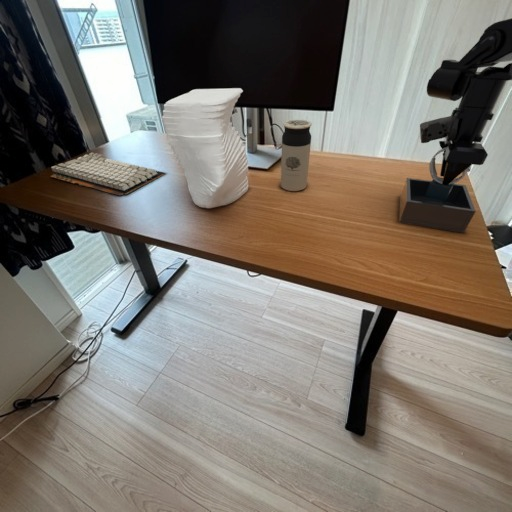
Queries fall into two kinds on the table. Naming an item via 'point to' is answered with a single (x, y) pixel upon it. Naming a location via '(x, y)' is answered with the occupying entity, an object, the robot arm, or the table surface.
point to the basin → (435, 207)
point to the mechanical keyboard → (105, 174)
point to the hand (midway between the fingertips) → (443, 180)
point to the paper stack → (208, 145)
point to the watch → (436, 186)
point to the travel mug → (295, 154)
